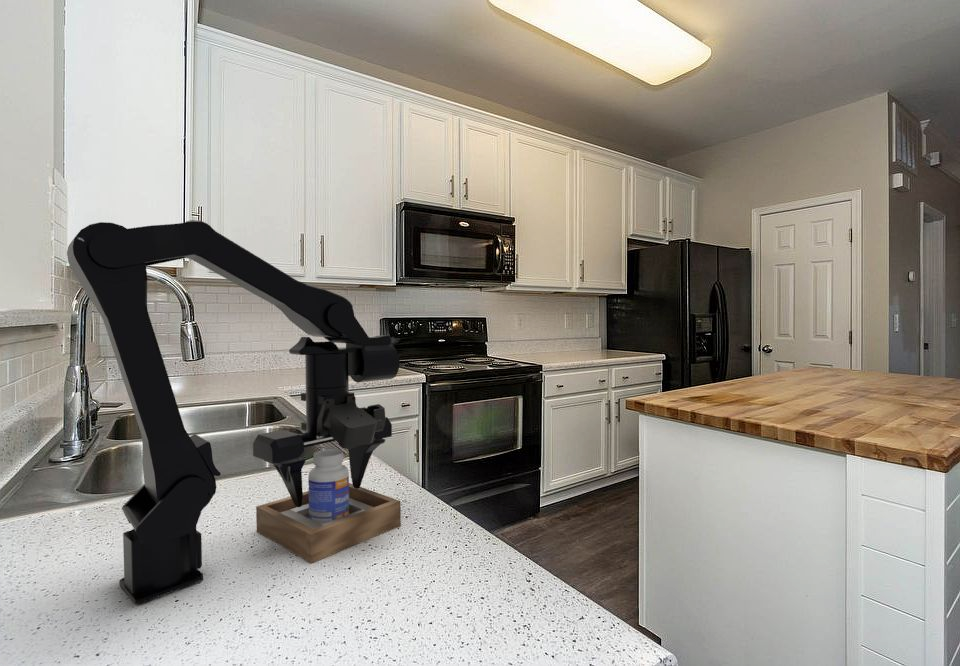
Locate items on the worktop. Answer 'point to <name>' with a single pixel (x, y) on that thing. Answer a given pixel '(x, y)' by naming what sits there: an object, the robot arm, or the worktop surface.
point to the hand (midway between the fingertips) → (328, 496)
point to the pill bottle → (328, 487)
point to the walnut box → (323, 540)
